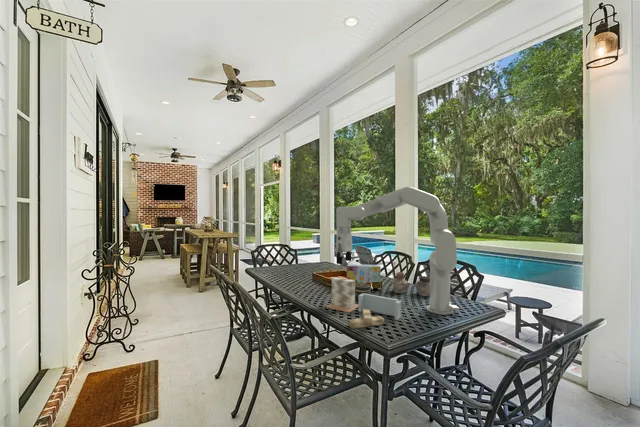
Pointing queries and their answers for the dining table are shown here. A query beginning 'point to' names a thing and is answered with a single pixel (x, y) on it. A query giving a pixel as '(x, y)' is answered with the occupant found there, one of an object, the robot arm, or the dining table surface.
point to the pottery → (421, 285)
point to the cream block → (343, 292)
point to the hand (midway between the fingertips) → (344, 262)
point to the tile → (341, 308)
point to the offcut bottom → (360, 323)
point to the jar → (361, 289)
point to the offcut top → (367, 316)
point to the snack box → (363, 273)
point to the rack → (380, 305)
